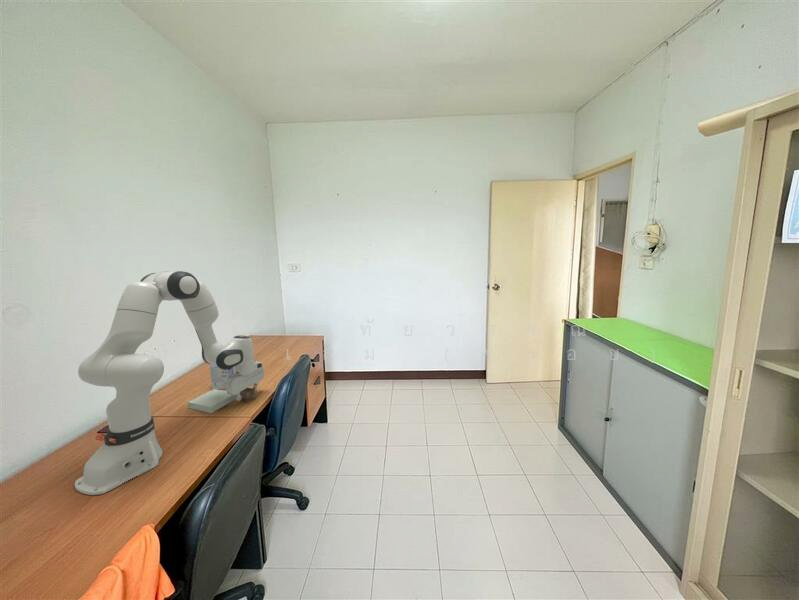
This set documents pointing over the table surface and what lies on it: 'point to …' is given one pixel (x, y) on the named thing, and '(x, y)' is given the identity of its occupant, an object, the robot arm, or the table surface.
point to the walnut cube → (247, 395)
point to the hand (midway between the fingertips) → (247, 395)
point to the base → (211, 401)
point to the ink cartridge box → (220, 377)
